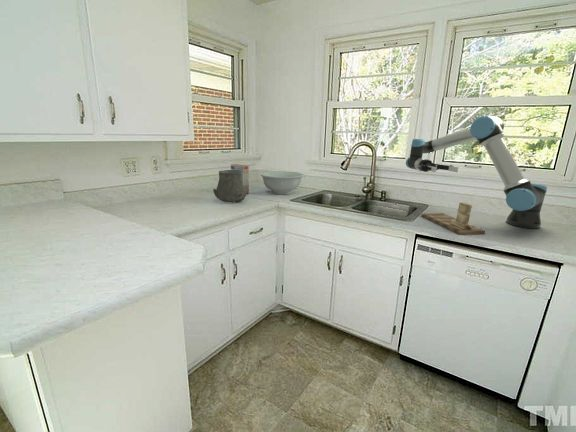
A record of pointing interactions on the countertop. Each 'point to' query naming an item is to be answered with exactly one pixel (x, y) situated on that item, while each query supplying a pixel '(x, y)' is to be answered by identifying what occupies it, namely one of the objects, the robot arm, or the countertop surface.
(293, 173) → the bowl
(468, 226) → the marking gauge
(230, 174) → the vessel
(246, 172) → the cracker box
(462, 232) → the walnut board
